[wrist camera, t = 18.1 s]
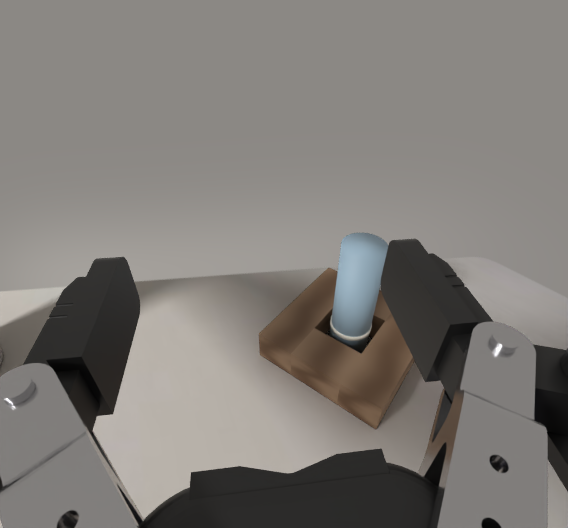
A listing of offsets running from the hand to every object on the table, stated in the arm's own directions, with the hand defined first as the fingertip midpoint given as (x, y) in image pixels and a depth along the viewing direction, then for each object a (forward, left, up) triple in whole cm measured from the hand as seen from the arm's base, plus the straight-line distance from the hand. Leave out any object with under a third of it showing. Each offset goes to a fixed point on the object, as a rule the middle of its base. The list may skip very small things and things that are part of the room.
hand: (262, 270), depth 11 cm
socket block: (-6, +23, -30) cm, 38 cm away
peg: (-6, +23, -30) cm, 38 cm away
